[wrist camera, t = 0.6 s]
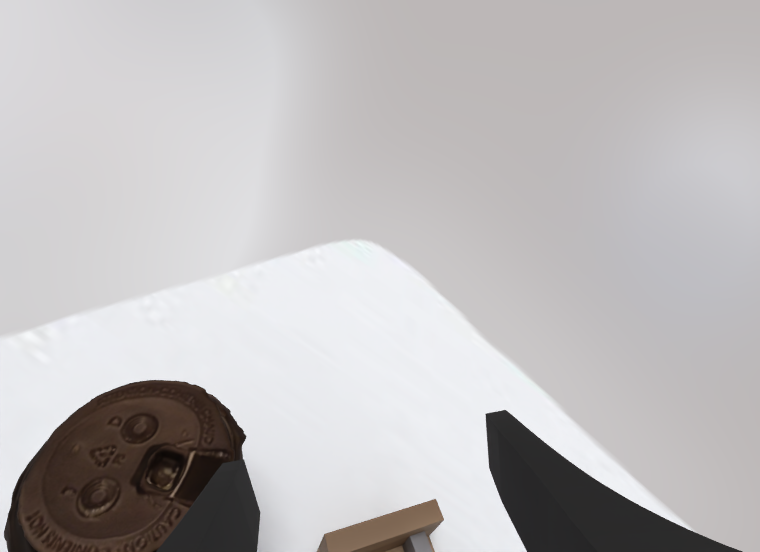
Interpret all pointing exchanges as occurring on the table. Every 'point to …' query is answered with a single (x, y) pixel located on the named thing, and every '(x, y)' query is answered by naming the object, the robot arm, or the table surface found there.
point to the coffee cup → (122, 470)
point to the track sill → (388, 532)
